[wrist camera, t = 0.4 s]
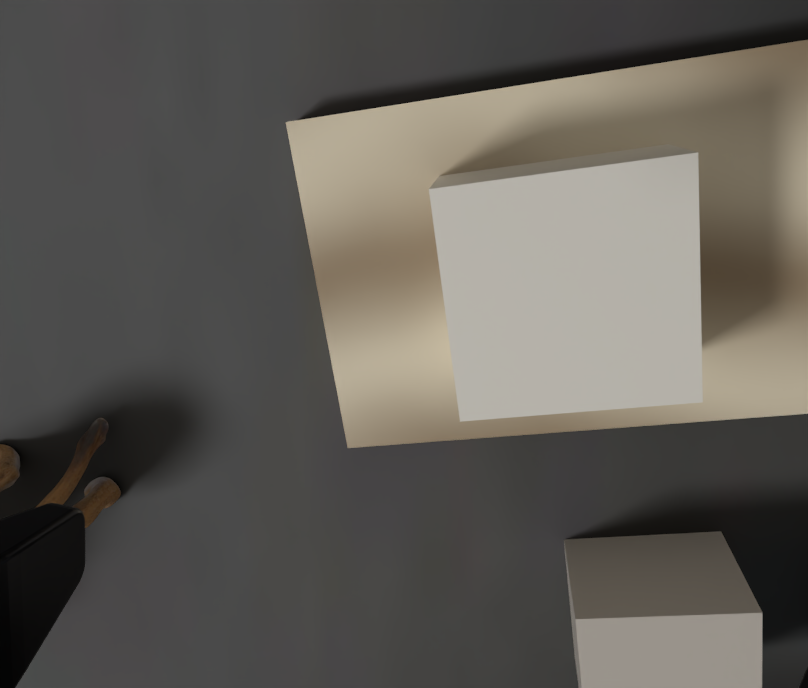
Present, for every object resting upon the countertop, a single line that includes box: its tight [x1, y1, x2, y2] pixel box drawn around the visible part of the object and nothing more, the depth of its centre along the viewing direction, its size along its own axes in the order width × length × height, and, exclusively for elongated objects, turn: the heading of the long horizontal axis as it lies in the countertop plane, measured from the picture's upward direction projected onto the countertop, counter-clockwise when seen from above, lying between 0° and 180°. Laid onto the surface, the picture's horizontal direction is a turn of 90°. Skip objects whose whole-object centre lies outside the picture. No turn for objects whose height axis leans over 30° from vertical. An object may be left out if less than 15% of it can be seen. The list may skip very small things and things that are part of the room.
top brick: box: [564, 531, 763, 688], centre depth 22 cm, size 5×5×4 cm
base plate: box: [286, 40, 808, 448], centre depth 20 cm, size 10×14×1 cm
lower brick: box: [429, 144, 703, 422], centre depth 18 cm, size 6×6×3 cm
